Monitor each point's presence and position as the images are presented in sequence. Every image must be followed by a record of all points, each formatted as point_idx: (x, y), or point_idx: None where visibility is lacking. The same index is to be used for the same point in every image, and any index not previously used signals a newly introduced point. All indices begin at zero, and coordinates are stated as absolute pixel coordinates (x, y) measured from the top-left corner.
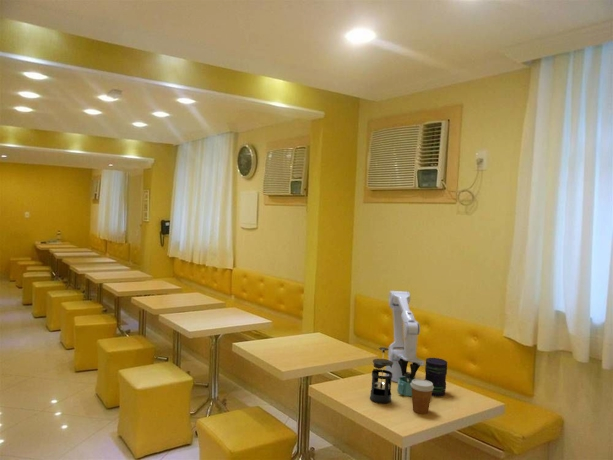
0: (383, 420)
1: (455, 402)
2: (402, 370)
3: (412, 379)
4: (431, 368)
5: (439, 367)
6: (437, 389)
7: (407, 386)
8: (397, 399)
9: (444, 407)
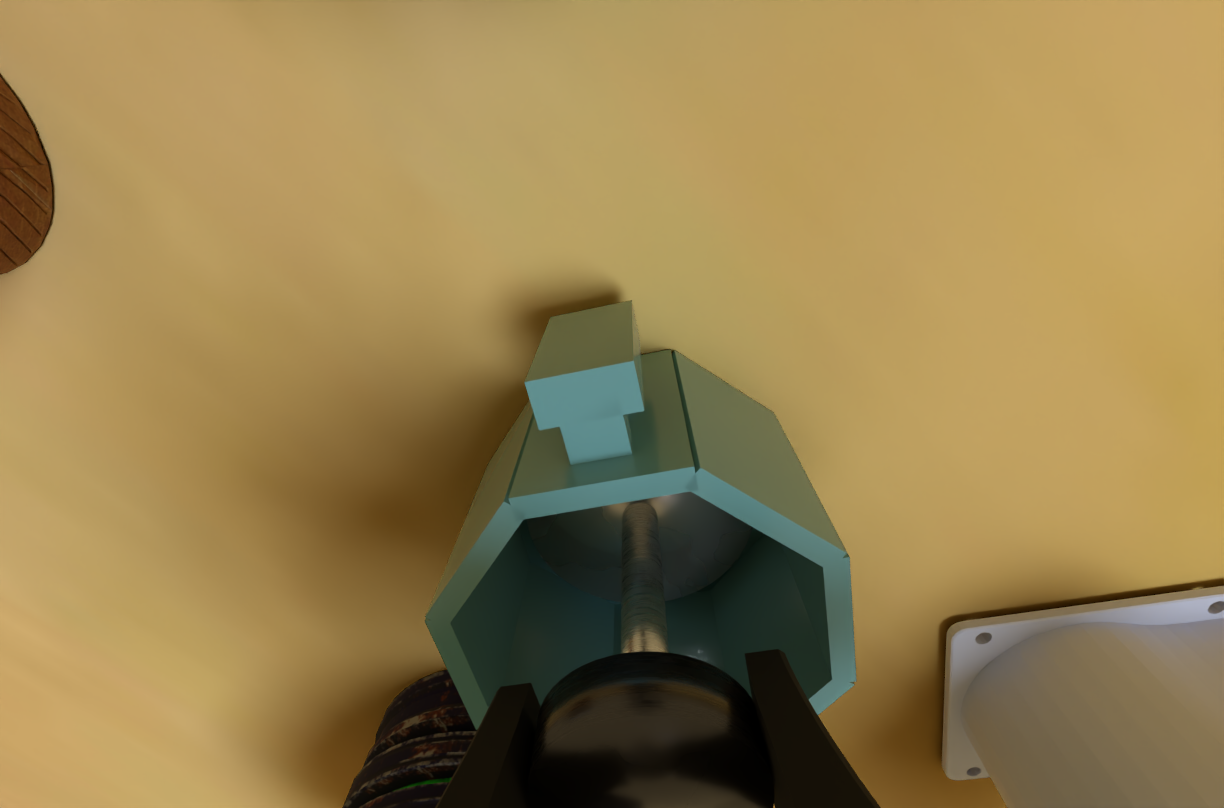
0: None
1: (194, 742)
2: (808, 793)
3: None
4: None
5: None
6: (352, 791)
7: (503, 477)
8: (468, 121)
9: (57, 561)
